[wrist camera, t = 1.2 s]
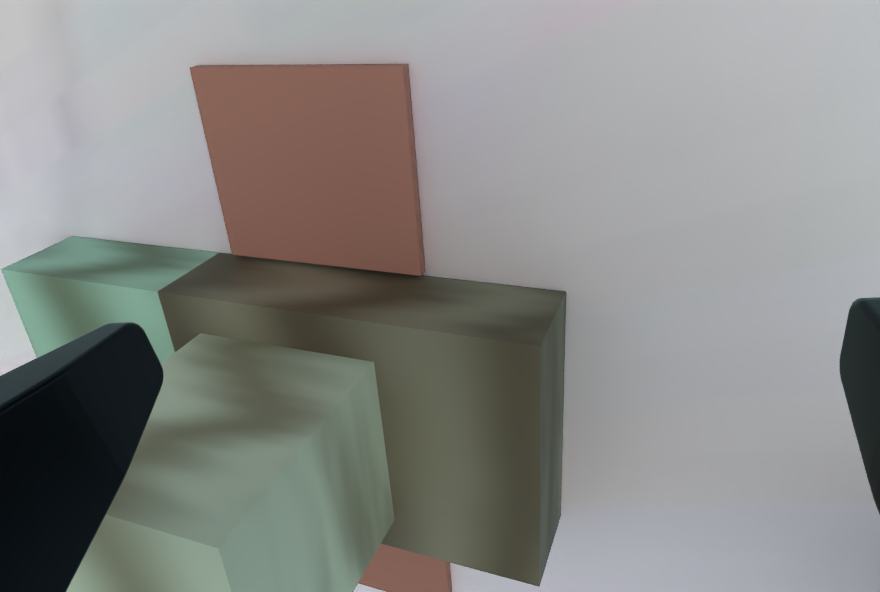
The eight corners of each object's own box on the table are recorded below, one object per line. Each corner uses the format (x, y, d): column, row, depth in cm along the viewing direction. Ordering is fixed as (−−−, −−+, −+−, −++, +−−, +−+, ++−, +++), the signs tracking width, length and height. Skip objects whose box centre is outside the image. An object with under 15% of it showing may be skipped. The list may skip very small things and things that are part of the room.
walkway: (566, 292, 22) (540, 346, 19) (560, 515, 27) (539, 586, 24) (72, 236, 30) (1, 269, 27) (133, 417, 34) (79, 461, 32)
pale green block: (373, 361, 22) (218, 548, 15) (394, 519, 25) (273, 729, 18) (200, 333, 24) (2, 483, 18) (239, 480, 27) (84, 653, 21)
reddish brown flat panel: (407, 63, 20) (402, 66, 20) (452, 603, 32) (449, 610, 31) (197, 65, 23) (189, 67, 23) (307, 560, 35) (302, 566, 34)
